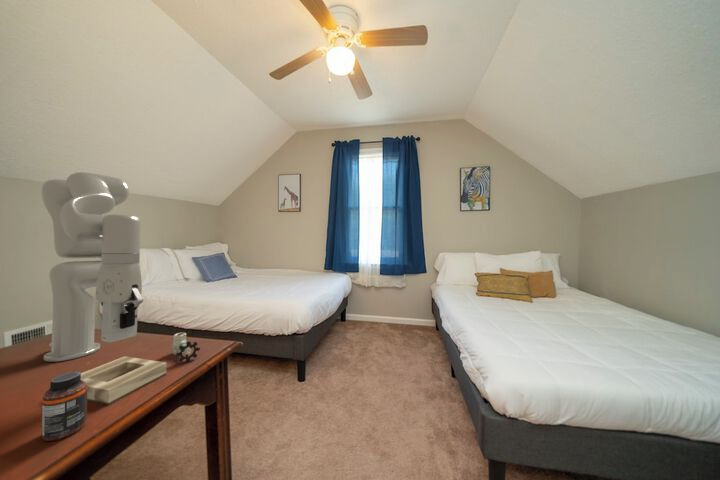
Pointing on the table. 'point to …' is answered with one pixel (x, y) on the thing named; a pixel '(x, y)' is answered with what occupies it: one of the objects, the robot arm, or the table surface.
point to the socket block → (120, 378)
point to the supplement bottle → (64, 406)
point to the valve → (183, 347)
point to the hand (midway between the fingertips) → (119, 325)
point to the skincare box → (115, 323)
